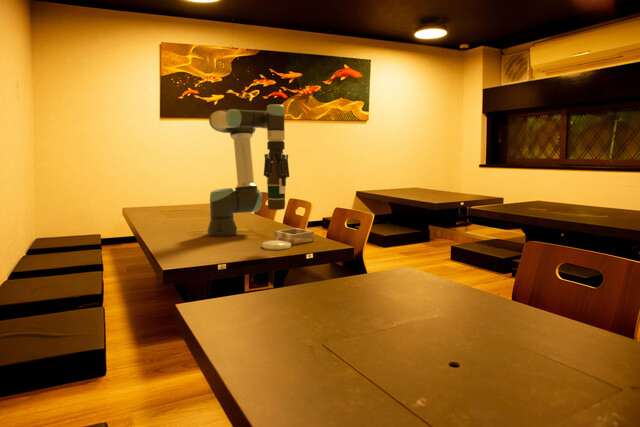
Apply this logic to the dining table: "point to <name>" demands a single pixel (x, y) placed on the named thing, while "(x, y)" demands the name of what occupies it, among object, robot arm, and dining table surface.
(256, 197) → the robot arm
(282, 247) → the ceramic plate
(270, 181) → the beer bottle
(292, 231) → the box
